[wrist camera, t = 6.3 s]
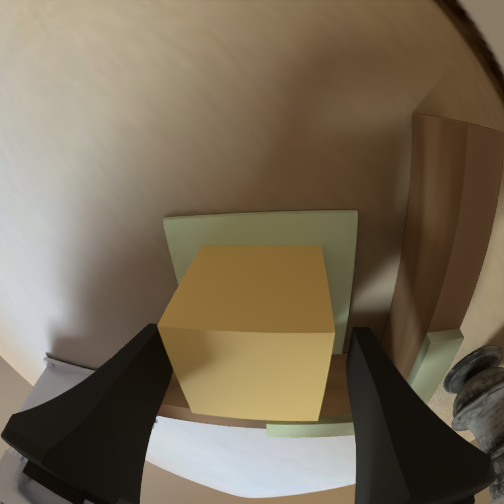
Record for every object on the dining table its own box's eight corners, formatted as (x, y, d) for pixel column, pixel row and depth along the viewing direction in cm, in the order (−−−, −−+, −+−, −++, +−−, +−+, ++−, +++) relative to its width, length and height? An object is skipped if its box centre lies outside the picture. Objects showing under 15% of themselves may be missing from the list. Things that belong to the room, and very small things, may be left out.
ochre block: (216, 331, 15) (192, 412, 10) (200, 245, 12) (156, 325, 8) (314, 334, 14) (317, 420, 10) (321, 245, 12) (335, 332, 7)
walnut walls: (157, 361, 17) (133, 417, 13) (87, 141, 11) (15, 168, 7) (396, 364, 15) (411, 427, 11) (444, 117, 9) (515, 136, 5)
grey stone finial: (480, 335, 14) (540, 497, 3) (515, 348, 14) (566, 474, 4) (424, 391, 16) (452, 539, 6) (467, 396, 17) (497, 517, 6)
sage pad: (198, 348, 16) (197, 352, 16) (164, 217, 12) (162, 220, 12) (341, 350, 15) (341, 354, 15) (356, 210, 11) (358, 212, 11)
